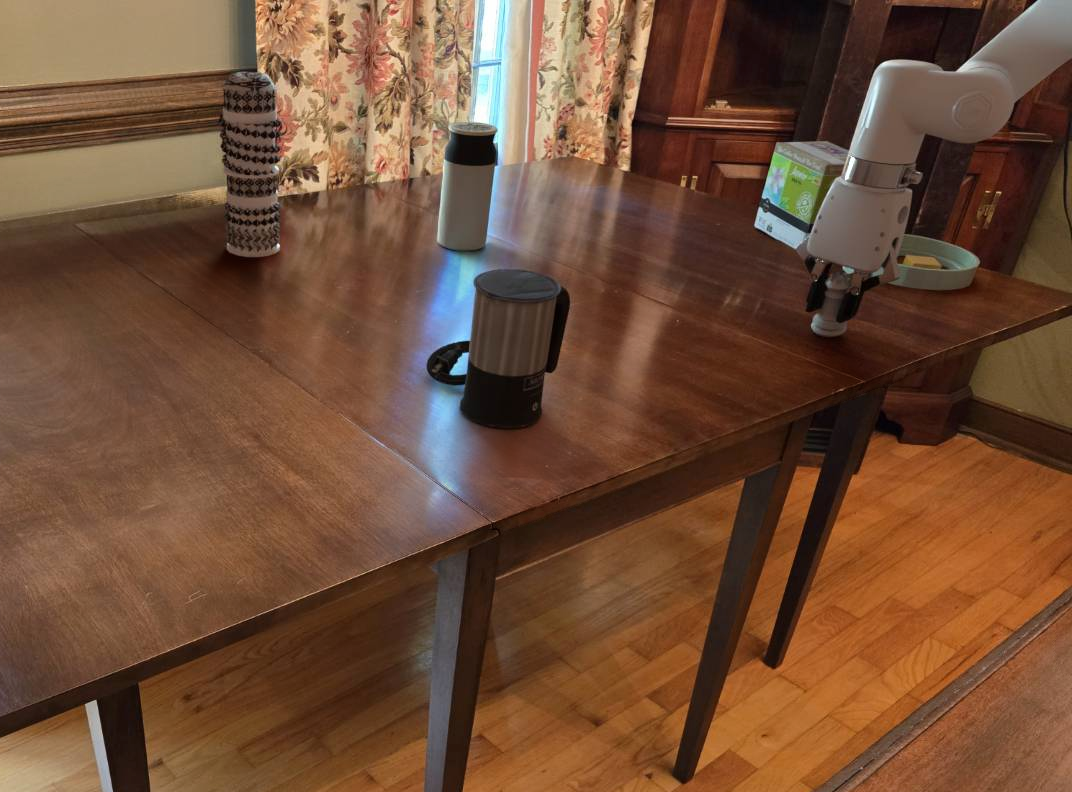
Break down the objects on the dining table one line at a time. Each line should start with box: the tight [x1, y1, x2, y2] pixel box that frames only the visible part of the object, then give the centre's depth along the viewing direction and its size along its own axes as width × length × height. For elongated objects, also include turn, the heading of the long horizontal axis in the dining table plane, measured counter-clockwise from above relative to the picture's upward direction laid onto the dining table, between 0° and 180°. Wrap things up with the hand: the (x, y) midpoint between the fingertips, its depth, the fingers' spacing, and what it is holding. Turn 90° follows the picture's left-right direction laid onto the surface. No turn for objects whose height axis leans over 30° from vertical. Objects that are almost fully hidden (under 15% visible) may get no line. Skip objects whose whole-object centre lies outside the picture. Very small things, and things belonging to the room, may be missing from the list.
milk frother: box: [426, 268, 571, 429], centre depth 107 cm, size 14×16×15 cm
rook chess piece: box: [810, 271, 852, 338], centre depth 128 cm, size 4×4×8 cm
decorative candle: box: [217, 71, 283, 258], centre depth 144 cm, size 9×9×25 cm
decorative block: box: [902, 255, 943, 270], centre depth 145 cm, size 4×4×4 cm
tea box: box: [754, 140, 849, 250], centre depth 161 cm, size 15×10×15 cm, turn 11°
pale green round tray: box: [841, 233, 981, 291], centre depth 149 cm, size 18×18×4 cm
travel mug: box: [436, 121, 498, 252], centre depth 152 cm, size 8×8×18 cm
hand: (828, 314), depth 128 cm, fingers open, 3 cm apart
